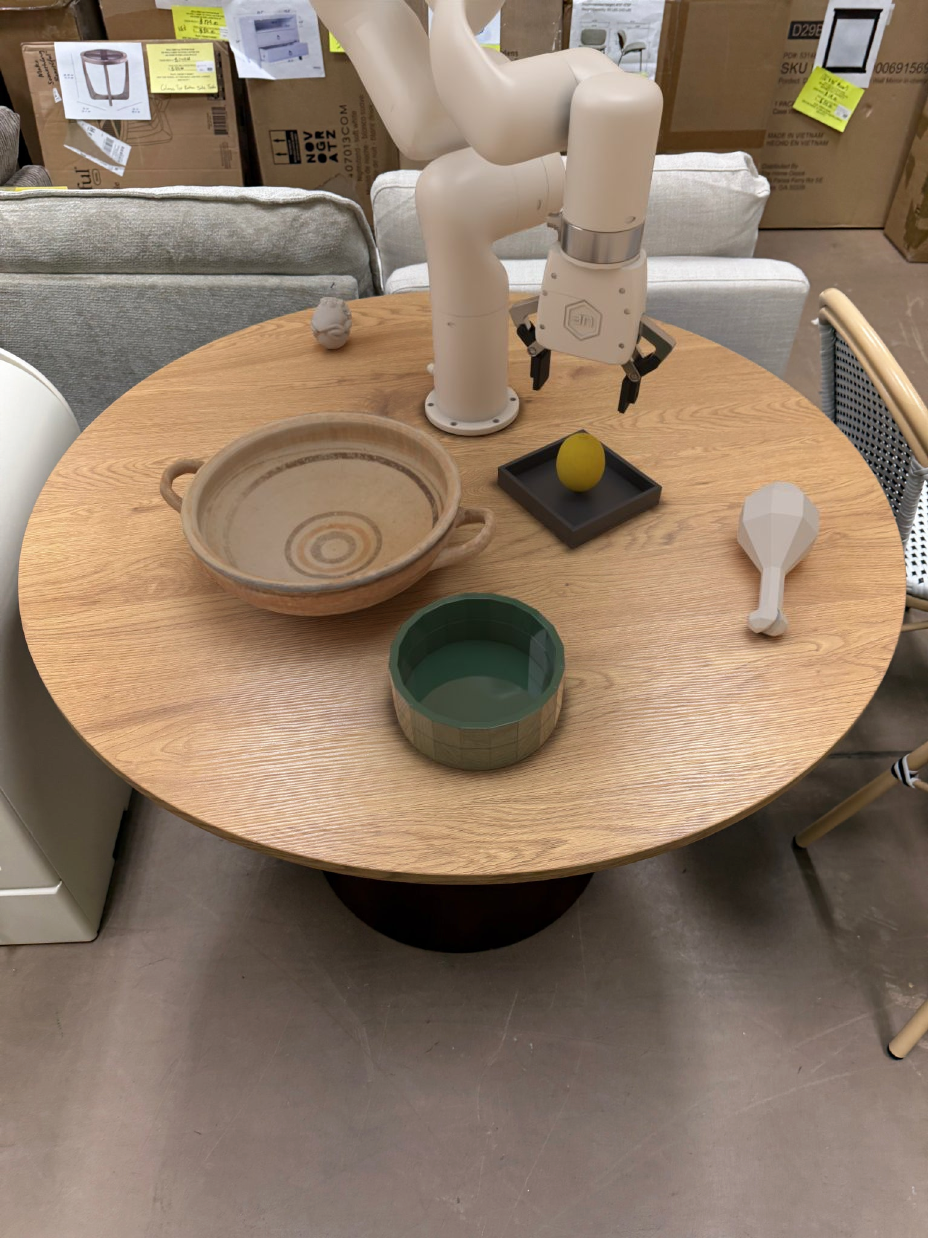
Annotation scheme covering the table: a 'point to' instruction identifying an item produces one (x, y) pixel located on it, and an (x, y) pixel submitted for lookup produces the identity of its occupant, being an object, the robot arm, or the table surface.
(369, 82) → the robot arm
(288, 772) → the table surface
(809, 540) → the chicken leg
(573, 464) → the lemon
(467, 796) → the table surface
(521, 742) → the pot
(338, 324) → the frog figurine
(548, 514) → the tray
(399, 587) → the ceramic bowl
